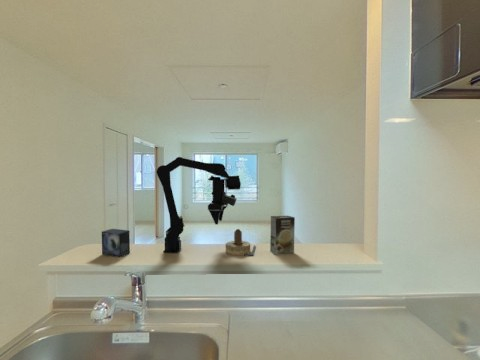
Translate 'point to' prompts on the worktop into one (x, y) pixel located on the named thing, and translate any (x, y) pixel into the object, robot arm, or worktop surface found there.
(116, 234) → the small box
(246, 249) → the bead
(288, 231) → the coffee box
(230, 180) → the robot arm
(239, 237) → the brown cylinder
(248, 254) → the gray l-shaped bar
